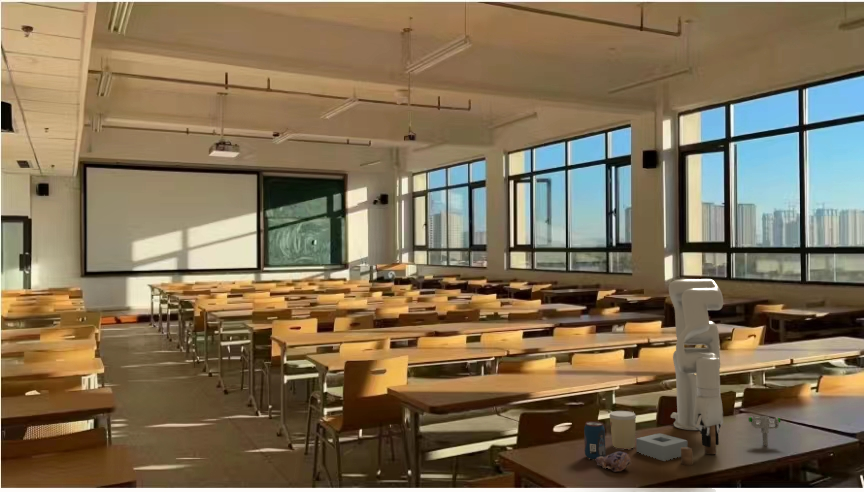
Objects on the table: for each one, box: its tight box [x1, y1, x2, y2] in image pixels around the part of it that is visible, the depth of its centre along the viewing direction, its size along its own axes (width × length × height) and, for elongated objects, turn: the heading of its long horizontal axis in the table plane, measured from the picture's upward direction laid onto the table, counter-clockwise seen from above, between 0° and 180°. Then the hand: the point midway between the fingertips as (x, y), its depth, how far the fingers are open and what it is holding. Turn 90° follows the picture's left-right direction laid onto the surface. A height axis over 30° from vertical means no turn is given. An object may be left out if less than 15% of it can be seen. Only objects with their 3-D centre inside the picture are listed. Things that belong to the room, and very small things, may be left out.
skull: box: [595, 450, 632, 472], centre depth 215 cm, size 12×8×6 cm, turn 37°
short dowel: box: [680, 446, 694, 466], centre depth 218 cm, size 4×4×5 cm
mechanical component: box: [748, 415, 781, 447], centre depth 236 cm, size 3×10×10 cm, turn 78°
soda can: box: [583, 420, 607, 460], centre depth 227 cm, size 7×7×12 cm
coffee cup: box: [609, 410, 637, 450], centre depth 239 cm, size 9×9×12 cm
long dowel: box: [704, 425, 717, 455], centre depth 227 cm, size 4×4×12 cm
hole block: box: [635, 432, 689, 462], centre depth 229 cm, size 12×12×5 cm
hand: (710, 444), depth 227 cm, fingers closed on long dowel, 3 cm apart
